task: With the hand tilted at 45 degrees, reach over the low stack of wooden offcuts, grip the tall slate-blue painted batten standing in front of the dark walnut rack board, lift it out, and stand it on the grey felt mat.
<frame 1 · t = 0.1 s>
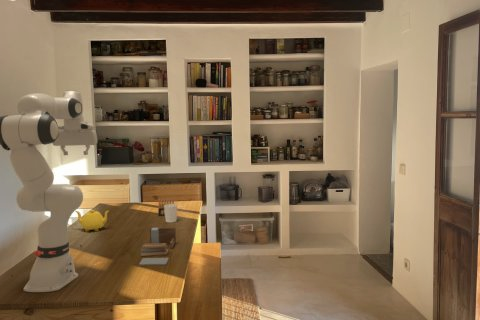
hand: (75, 155, 206), 48 cm above the table, tool pointing down, fingers open, 8 cm apart
walnut rack: (160, 248, 217), on the table
batten: (155, 248, 217), on the table
teapot: (93, 229, 255), on the table
felt mat: (154, 262, 197), on the table
ammunition clip: (166, 215, 286), on the table
white cup: (171, 221, 271), on the table
offcut stack: (154, 253, 209), on the table
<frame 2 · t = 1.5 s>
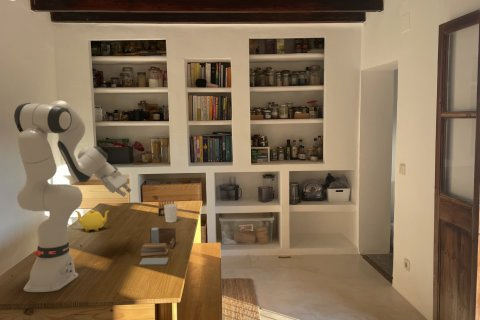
hand: (127, 193, 214), 28 cm above the table, tool tilted 45°, fingers open, 8 cm apart
nothing on the table moved.
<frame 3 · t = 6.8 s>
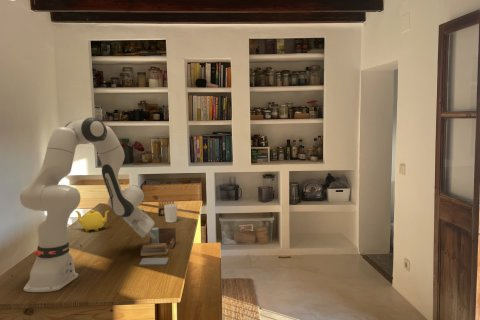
hand: (156, 236, 216), 6 cm above the table, tool tilted 45°, fingers closed on batten, 4 cm apart
batten: (155, 248, 217), on the table, touching gripper
everything else where it was.
when the fingers open (8 cm above the table, at t = 14.2 s): batten drops 1 cm, resting on felt mat.
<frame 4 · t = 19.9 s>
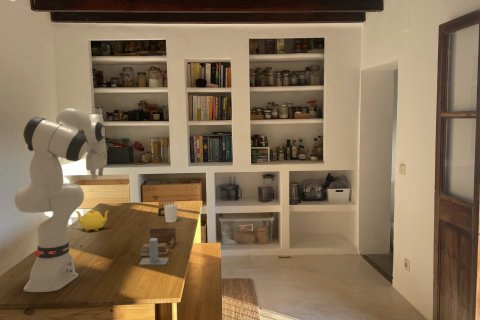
hand: (97, 177, 207), 37 cm above the table, tool pointing down, fingers open, 8 cm apart
batten: (154, 260, 197), point 1 cm above the table, touching felt mat
everything else where it was.
at the end: batten inside the target area on the felt mat (0.0 cm from its centre), point 0.6 cm above the felt mat's base; batten tilted 0°; the gripper is holding nothing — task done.
